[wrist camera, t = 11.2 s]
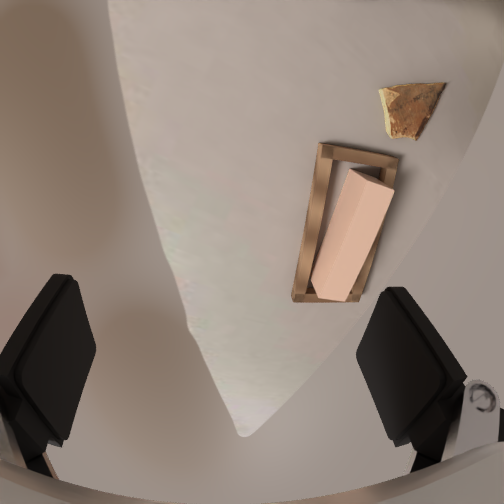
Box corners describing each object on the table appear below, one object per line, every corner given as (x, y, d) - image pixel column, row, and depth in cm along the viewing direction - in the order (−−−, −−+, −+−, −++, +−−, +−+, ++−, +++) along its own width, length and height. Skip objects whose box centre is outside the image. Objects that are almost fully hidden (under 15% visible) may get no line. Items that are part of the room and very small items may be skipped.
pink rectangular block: (348, 168, 36) (367, 180, 31) (374, 177, 37) (394, 190, 32) (308, 274, 43) (318, 298, 38) (332, 278, 44) (344, 301, 39)
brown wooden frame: (318, 142, 34) (322, 145, 32) (392, 156, 35) (399, 159, 34) (291, 295, 44) (293, 302, 43) (355, 295, 45) (358, 302, 44)
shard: (440, 82, 30) (447, 82, 29) (446, 133, 34) (454, 136, 33) (376, 86, 31) (382, 86, 29) (385, 143, 35) (392, 146, 33)
